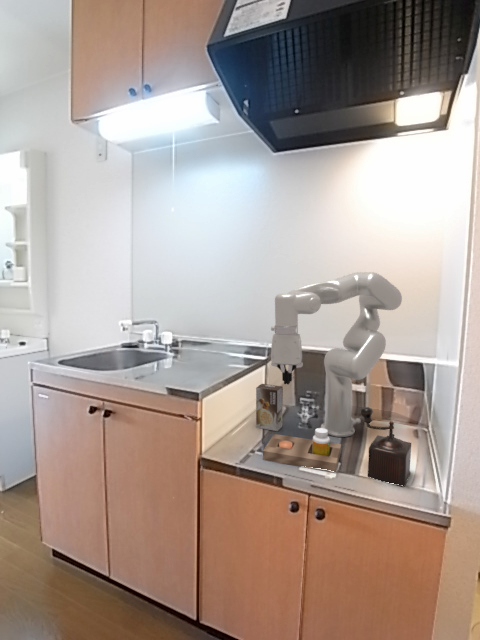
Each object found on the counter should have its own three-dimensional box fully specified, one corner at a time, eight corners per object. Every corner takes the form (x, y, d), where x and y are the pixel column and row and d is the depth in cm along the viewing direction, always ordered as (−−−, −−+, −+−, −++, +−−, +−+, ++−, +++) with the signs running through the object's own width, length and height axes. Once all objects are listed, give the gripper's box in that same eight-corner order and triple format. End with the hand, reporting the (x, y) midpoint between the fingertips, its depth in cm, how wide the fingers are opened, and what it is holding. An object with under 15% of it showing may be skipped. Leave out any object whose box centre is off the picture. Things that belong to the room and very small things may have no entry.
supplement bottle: (329, 464, 120) (330, 434, 119) (312, 462, 121) (312, 433, 120) (328, 456, 126) (329, 427, 124) (312, 454, 127) (312, 426, 125)
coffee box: (283, 425, 150) (283, 386, 149) (277, 431, 145) (278, 390, 143) (261, 421, 155) (262, 383, 153) (255, 427, 149) (255, 387, 147)
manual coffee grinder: (411, 471, 116) (414, 414, 114) (404, 488, 107) (408, 426, 105) (360, 457, 125) (362, 404, 123) (349, 472, 115) (351, 414, 113)
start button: (287, 448, 130) (287, 439, 130) (294, 454, 126) (295, 444, 126) (276, 451, 128) (276, 441, 128) (283, 456, 124) (283, 447, 124)
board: (262, 459, 123) (262, 450, 122) (274, 442, 136) (274, 433, 136) (336, 472, 115) (336, 463, 115) (340, 452, 128) (341, 444, 128)
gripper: (262, 331, 127) (263, 385, 130) (307, 332, 123) (307, 388, 125) (267, 328, 135) (268, 378, 137) (310, 329, 130) (310, 381, 133)
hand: (287, 383), depth 131 cm, fingers closed
